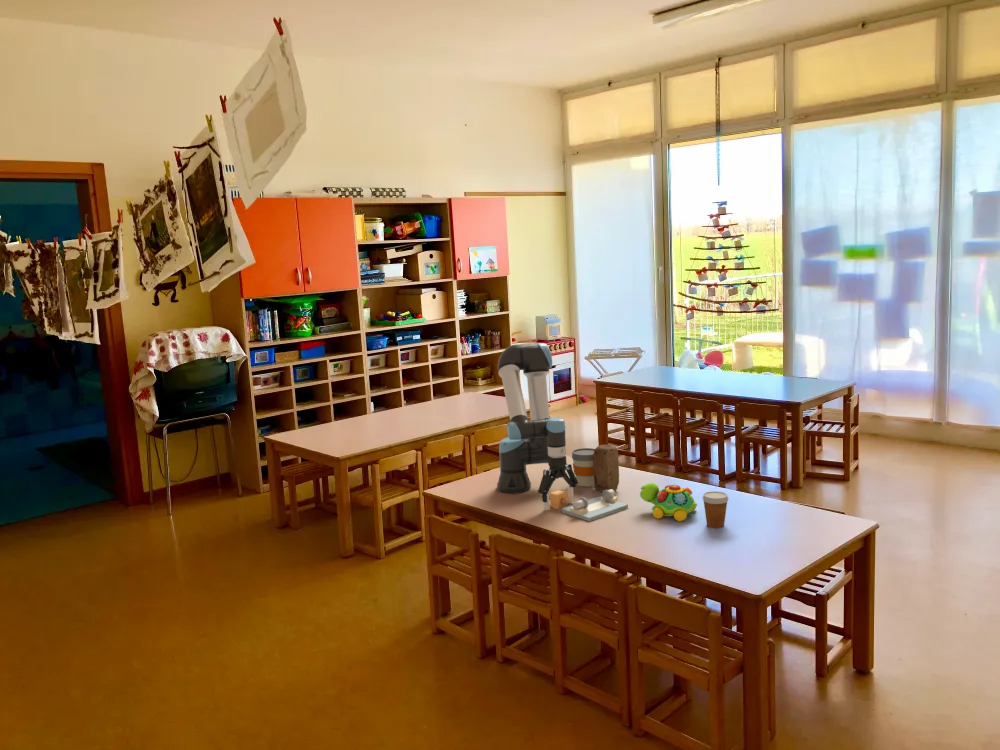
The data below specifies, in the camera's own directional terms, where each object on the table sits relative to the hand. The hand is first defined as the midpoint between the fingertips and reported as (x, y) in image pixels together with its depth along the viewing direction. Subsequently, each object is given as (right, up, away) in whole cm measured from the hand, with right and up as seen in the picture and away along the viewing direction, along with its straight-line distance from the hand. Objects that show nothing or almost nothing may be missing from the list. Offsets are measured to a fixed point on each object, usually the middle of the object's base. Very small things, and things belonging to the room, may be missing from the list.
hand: (559, 505), depth 330 cm
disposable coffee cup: (+57, -3, -30) cm, 64 cm away
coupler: (0, -1, 0) cm, 1 cm away
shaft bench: (+14, -1, -6) cm, 16 cm away
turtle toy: (+42, -1, -14) cm, 45 cm away
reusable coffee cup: (+15, +5, +30) cm, 33 cm away
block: (+22, +3, +19) cm, 29 cm away
